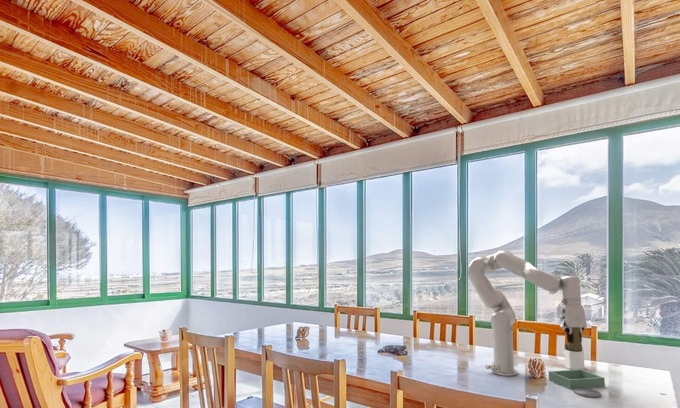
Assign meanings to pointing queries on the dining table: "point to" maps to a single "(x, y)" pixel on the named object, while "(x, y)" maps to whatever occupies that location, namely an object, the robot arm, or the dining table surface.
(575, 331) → the cork
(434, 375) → the dining table surface
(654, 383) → the dining table surface
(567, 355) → the jar
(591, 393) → the mat
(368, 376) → the dining table surface
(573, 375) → the green tray
